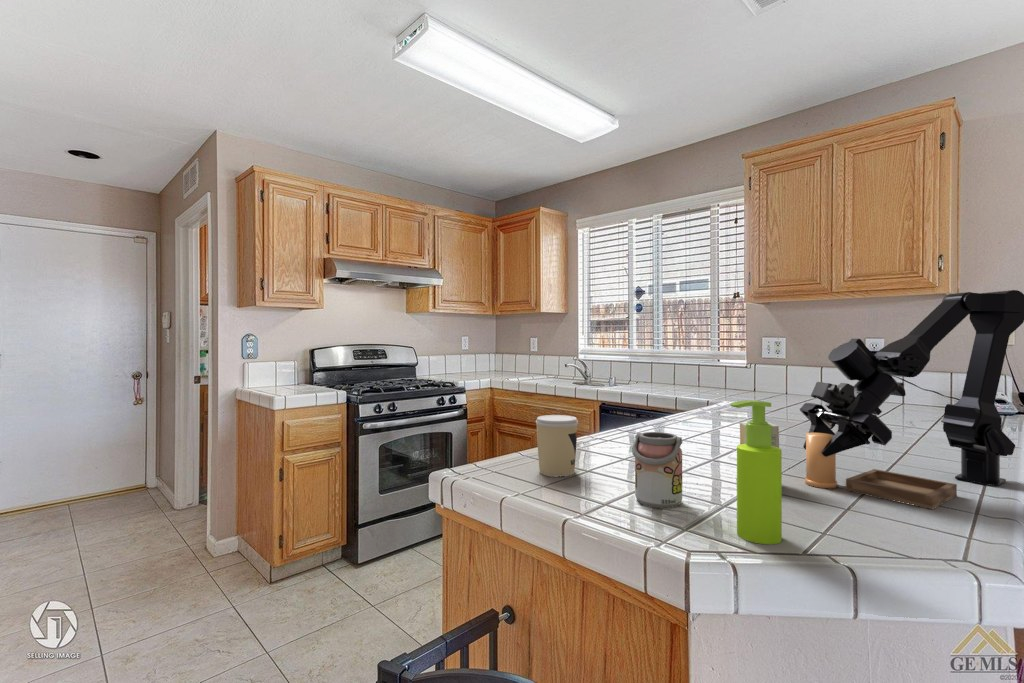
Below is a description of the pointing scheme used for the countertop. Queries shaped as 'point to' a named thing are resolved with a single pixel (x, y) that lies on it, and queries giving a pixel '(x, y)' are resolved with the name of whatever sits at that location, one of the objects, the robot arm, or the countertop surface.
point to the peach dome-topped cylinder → (819, 462)
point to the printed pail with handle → (658, 469)
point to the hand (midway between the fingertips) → (814, 451)
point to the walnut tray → (902, 488)
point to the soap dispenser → (759, 480)
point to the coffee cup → (556, 444)
